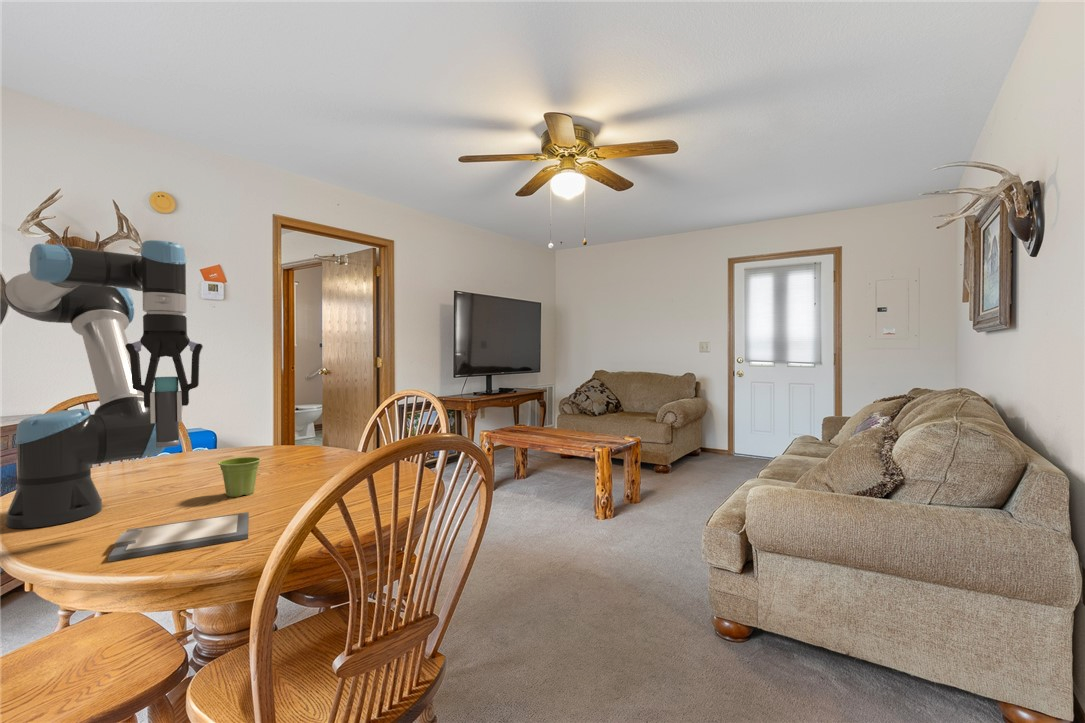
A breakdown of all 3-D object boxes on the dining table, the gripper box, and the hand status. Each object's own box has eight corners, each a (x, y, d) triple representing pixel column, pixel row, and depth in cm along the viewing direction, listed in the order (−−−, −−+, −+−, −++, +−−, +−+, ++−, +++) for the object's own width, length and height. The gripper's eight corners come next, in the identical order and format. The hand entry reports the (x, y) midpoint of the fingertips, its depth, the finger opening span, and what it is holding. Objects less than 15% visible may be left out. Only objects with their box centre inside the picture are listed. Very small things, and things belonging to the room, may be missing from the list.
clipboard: (108, 561, 87) (108, 551, 87) (127, 534, 100) (127, 525, 100) (248, 538, 97) (247, 529, 97) (248, 516, 110) (248, 508, 110)
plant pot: (231, 489, 132) (231, 456, 132) (268, 488, 133) (267, 456, 133) (210, 499, 123) (210, 465, 123) (250, 498, 123) (249, 464, 123)
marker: (154, 448, 105) (152, 377, 105) (158, 445, 109) (156, 376, 108) (177, 446, 107) (176, 377, 107) (180, 443, 111) (179, 376, 110)
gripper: (109, 311, 100) (112, 427, 100) (210, 314, 108) (212, 420, 109) (118, 313, 106) (120, 422, 107) (213, 316, 115) (215, 416, 115)
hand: (167, 421), depth 108 cm, fingers closed on marker, 4 cm apart
